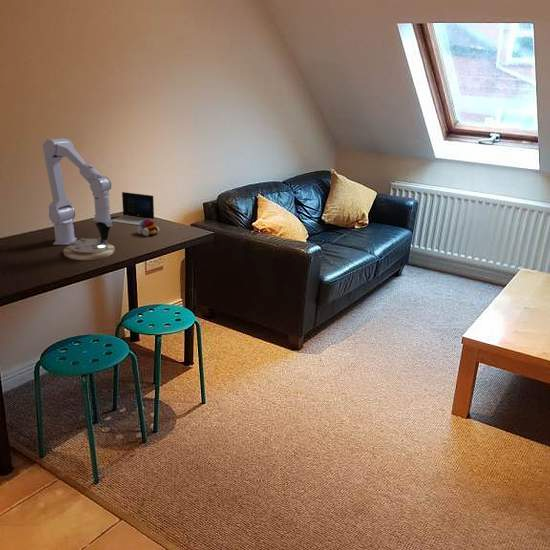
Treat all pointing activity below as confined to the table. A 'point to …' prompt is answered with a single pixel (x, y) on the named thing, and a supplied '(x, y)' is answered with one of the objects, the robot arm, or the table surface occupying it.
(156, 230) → the red white round cluster
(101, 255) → the base plate
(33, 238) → the table surface
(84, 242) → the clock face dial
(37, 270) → the table surface
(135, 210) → the laptop
